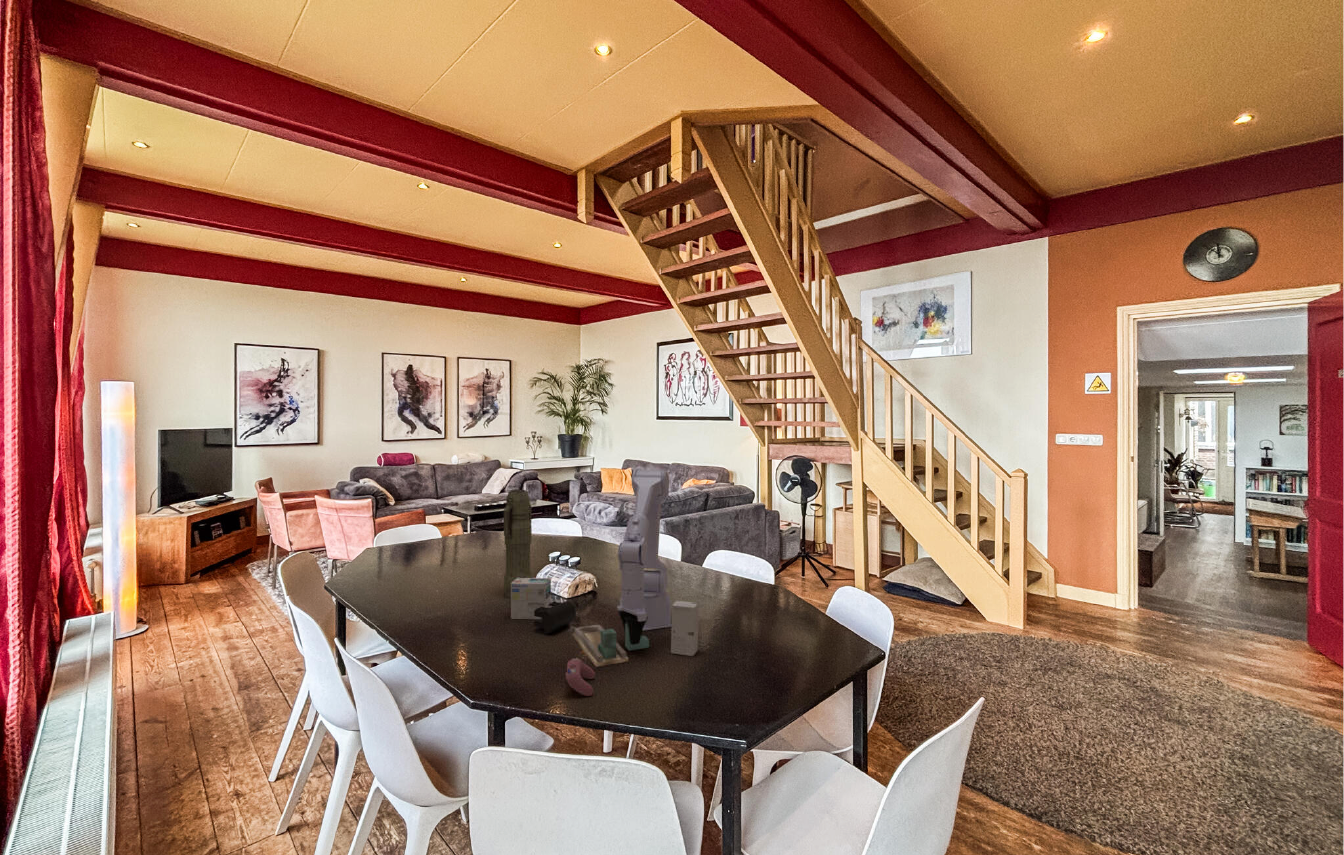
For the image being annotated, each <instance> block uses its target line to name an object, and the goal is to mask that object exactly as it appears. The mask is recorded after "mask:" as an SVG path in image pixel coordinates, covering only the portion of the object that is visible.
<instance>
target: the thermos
mask: <svg viewBox="0 0 1344 855" xmlns="http://www.w3.org/2000/svg"><path fill="white" fill-rule="evenodd" d="M530 500H531V499H530V496H529V493H528V491H527V490H525V489H512V490H510V491H508V493H507V497H506V504H505V505H506V506H504V509H503V537H504V545H505V573H504V580H503V581H504V583H503V584H504V585H503V587H504V588H503V589H504V597H505V598H507V599H511V583H512V582H513V581H514V580H515V579H517V578H533V577H532V576H533V574H532V572H531V544H532V538H533V536H532V532H533V531H532V505H531V503H530Z"/></svg>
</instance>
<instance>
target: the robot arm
mask: <svg viewBox="0 0 1344 855" xmlns="http://www.w3.org/2000/svg"><path fill="white" fill-rule="evenodd" d="M669 486H670V476H669V472H668V470H666V469H639V468H637V469H636V468H635V469H634V470H633V472H632V475H631V487H632V489H633V492H634V494H635V504H634V512H633V515H632V516H630V517H629V518H628V521H627V525H626V529H625V533H624V538H623V541H622V542H620V543H619V545H618V550H617V558H618V563H619V571H621V572H620V573H621V574H620V575H621V579H620V580H621V582H620V583H621V584H620V585H621V588H620V589H621V593H620V598H619V605H617V606H616V610H617V611H618V612H617V614H618V616H619V618H620V620H621V623H622V627H623V630H624V631H623V632H624V633H625V623H627V626H628V630H629V637H630V642H631V644H632V645H633V644H639V642H640V638H641V636H642V634H643V632H644V631H650V630H658V629H663V628H670V627H671V628H672V603H671V602H672V601H671V597H670V595H669V593H668V592H667V589H668V583H669V582H668V578H669V577H668V568H667V566H666V564H665V563H664V562H662V561H661V559H659V548H660V547H659V546H660V527H661V526H660V525H661V523H660V522H661V508H662V505H663V504H662V503H663V501H666V500H667V499H668V497H669V488H670V487H669ZM647 569H648V570H647ZM651 569H653V570H651Z"/></svg>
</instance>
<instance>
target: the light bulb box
mask: <svg viewBox="0 0 1344 855" xmlns="http://www.w3.org/2000/svg"><path fill="white" fill-rule="evenodd" d="M551 581H552V578H551V577H532V578H517V579H515V580H514V581H513V582H512V583H511V598H510V620H542V618H541V617H536V616H534V611H535V609H537V608H540V607H545V608H551V607H552V606H549V604H550V603H552V582H551Z"/></svg>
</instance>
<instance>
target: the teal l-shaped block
mask: <svg viewBox="0 0 1344 855" xmlns="http://www.w3.org/2000/svg"><path fill="white" fill-rule="evenodd" d="M624 643H625V644H624V647H625V648H626V649H627V650H628V651H635V650H640V649H641V650H642V649H646V648H647V649H648V648H650V639H649V637H647V636H646V635H641V638H640V642H639V644H633V645H632V644H631V642H630V637H629V630H628V626H627V623H625V632H624Z"/></svg>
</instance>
